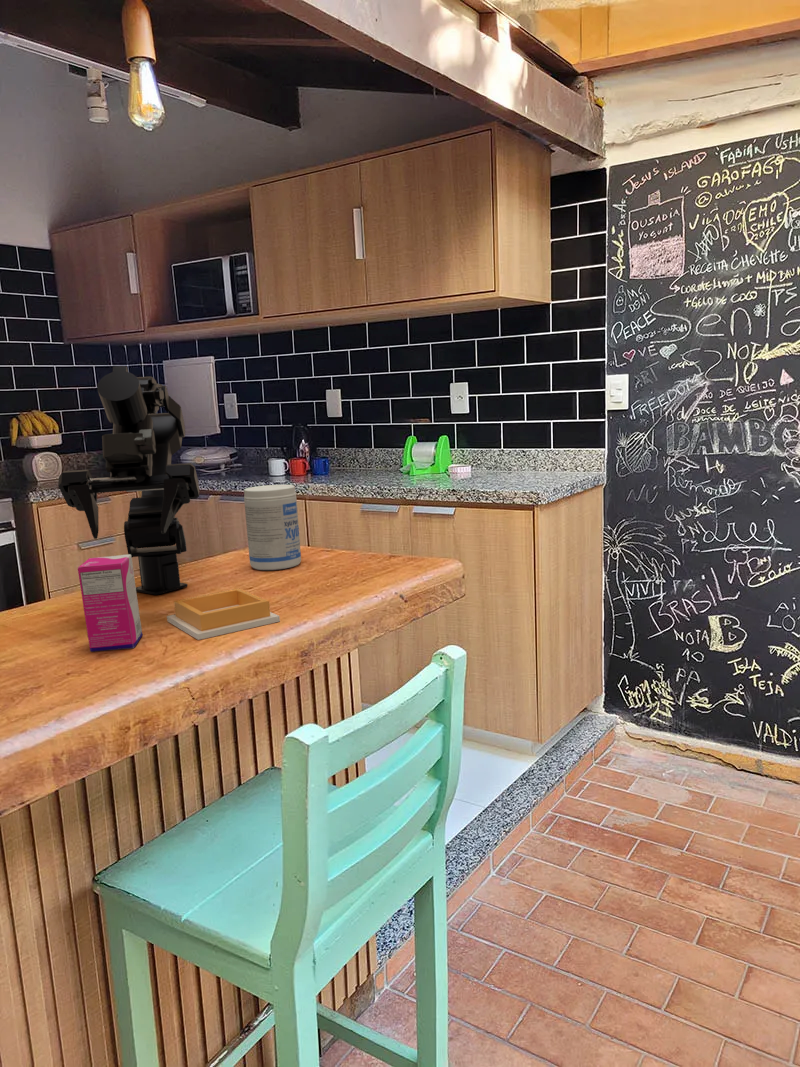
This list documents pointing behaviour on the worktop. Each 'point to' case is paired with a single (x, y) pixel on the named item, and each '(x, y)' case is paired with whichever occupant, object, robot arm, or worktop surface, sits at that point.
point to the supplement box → (110, 602)
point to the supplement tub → (272, 527)
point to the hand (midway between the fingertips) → (129, 534)
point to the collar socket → (221, 613)
